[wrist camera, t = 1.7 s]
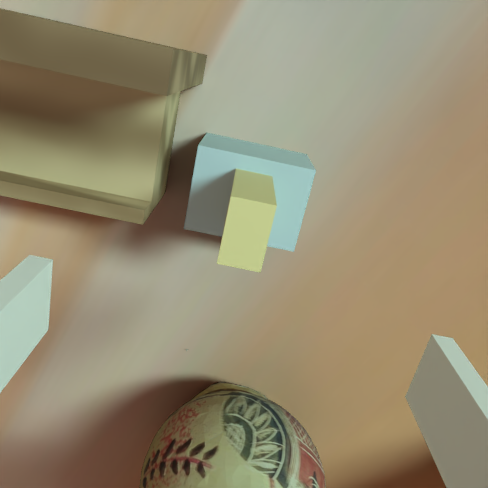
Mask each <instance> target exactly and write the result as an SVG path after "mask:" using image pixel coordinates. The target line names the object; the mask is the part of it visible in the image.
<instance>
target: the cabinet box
mask: <svg viewBox="0 0 488 488" xmlns="http://www.w3.org/2000/svg"><path fill="white" fill-rule="evenodd" d="M315 172H316V170H315V168H314V166H313V165H312V163H311V161H310V159H309V158H308V156H307V154H303V153H298V152H294V151H289V150H284V149H280V148H275V147H271V146H266V145H262V144H257V143H252V142H248V141H243V140H239V139H234V138H229V137H225V136H220V135H216V134H211V133H206V135H205V136H204V138H203V139H202V140H201V142H200V143H199V145H198V149H197V155H196V161H195V167H194V172H193V178H192V184H191V190H190V195H189V201H188V207H187V213H186V218H185V224H184V229H187V230H191V231H196V232H201V233H206V234H211V235H216V236H221V237H222V240H221V245H220V250H219V255H218V261H217V264H221V265H226V266H231V267H236V268H241V269H246V270H251V271H256V272H261V268H262V264H263V260H264V256H265V252H266V248H267V246H269V247H274V248H279V249H284V250H289V251H293V252H294V249H295V246H296V242H297V238H298V234H299V231H300V227H301V223H302V220H303V216H304V212H305V209H306V205H307V201H308V198H309V194H310V190H311V187H312V183H313V179H314V176H315Z"/></svg>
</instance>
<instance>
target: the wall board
mask: <svg viewBox="0 0 488 488" xmlns="http://www.w3.org/2000/svg"><path fill="white" fill-rule="evenodd" d="M206 58H207V55H204V54H199V53H195V52H191V51H186V50H182V49H177V48H173V47H169V46H164V45H160V44H155V43H151V42H147V41H142V40H138V39H133V38H129V37H124V36H120V35H116V34H111V33H107V32H102V31H98V30H94V29H89V28H85V27H80V26H76V25H72V24H67V23H63V22H58V21H54V20H50V19H45V18H41V17H36V16H32V15H28V14H23V13H19V12H14V11H10V10H5V9H1V8H0V196H5V197H10V198H15V199H20V200H25V201H30V202H35V203H39V204H44V205H49V206H54V207H59V208H64V209H69V210H74V211H78V212H83V213H88V214H93V215H98V216H103V217H108V218H113V219H117V220H122V221H127V222H132V223H137V224H142V225H143V224H144V222H145V221H146V220H147V218H148V217H149V215H150V214H151V212H152V211H153V210H154V208H155V207H156V205H157V204H158V202H159V201H160V200H161V198H162V197H163V195H164V194H165V189H166V183H167V176H168V170H169V163H170V157H171V150H172V144H173V137H174V131H175V124H176V118H177V111H178V105H179V98H180V92H181V91H182V90H185V89H188V88H191V87H193V86H196V85H199V84H202V81H203V75H204V70H205V64H206Z"/></svg>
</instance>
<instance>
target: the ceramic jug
mask: <svg viewBox="0 0 488 488" xmlns="http://www.w3.org/2000/svg"><path fill="white" fill-rule="evenodd" d="M186 351H187V350H186ZM139 488H326V485H325V474H324V470H323V467H322V463H321V461H320V457H319V454H318V452H317V449H316V447H315V446H314V444H313V442H312V440H311V438H310V436H309V435H308V434H307V432H306V430H305V429H304V428H303V426H302V425H301V424H300V423H299V422H298V421H297V420H296V419H295V418H294V417H293V416H292V415H291V414H290V413H288V412H287V411H286V410H285V409H283V408H282V407H281V406H279V405H278V404H276V403H274V402H273V401H271V400H268V399H267V398H266V397H265V396H264V395H262V394H260V393H259V392H257V391H255V390H253V389H250V388H248V387H244V386H239V385H235V384H230V383H216V384H212V385H211V386H209V387H208V388H207V389H205V390H204V391H202V392H201V393H199V394H198V395H196V396H195V397H194V398H193V399H192V400H191V401H189V402H187V403H186V404H184V405H183V406H182V407H180V408H179V409H178V410H177V411H175V412H174V413H173V414H171V415H170V417H169V418H168V419H167V420H166V422H165V423H164V424H163V425H162V427H161V428H160V429H159V430H158V432H157V434H156V435H155V437H154V439H153V441H152V443H151V446H150V448H149V451H148V453H147V455H146V458H145V461H144V464H143V467H142V471H141V479H140V487H139Z"/></svg>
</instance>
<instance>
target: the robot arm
mask: <svg viewBox="0 0 488 488" xmlns="http://www.w3.org/2000/svg"><path fill="white" fill-rule="evenodd" d="M52 265H53V259H48V258H43V257H37V256H32V255H29V256H28V257H27V258H25V259H24V260H23V261H22V262H21V263H20V264H19V265H17V266H16V267H15V268H14V269H13V270H12V271H10V272H9V273H8V274H7V275H6V276H5V277H4V278H2V279H1V280H0V393H1V391H2V390H3V389H4V387H5V386H6V385H7V383H8V382H9V381H10V379H11V378H12V377H13V375H14V374H15V373H16V372H17V370H18V369H19V368H20V366H21V365H22V364H23V362H24V361H25V360H26V358H27V357H28V356H29V354H30V353H31V352H32V351H33V349H34V348H35V347H36V345H37V344H38V343H39V341H40V340H41V339H42V337H43V336H44V335H45V333H46V332H47V331H48V327H49V312H50V296H51V281H52ZM405 397H406V400H407V402H408V404H409V406H410V408H411V411H412V413H413V415H414V417H415V419H416V422H417V424H418V426H419V428H420V430H421V433H422V435H423V437H424V439H425V441H426V444H427V446H428V448H429V450H430V452H431V455H432V457H433V459H434V461H435V464H436V466H437V468H438V470H439V472H440V475H441V477H442V479H443V481H444V483H445V486H446V488H488V387H487V385H486V384H485V382H484V381H483V380H482V378H481V377H480V376H479V374H478V373H477V371H476V370H475V369H474V367H473V366H472V364H471V363H470V362H469V360H468V359H467V357H466V356H465V355H464V353H463V352H462V351H461V349H460V348H459V346H458V345H457V344H456V342H455V341H454V339H453V338H449V337H443V336H438V335H433V334H432V335H431V337H430V340H429V342H428V344H427V347H426V349H425V351H424V354H423V356H422V358H421V361H420V363H419V366H418V368H417V370H416V373H415V375H414V377H413V380H412V382H411V384H410V387H409V389H408V392H407V394H406V396H405Z"/></svg>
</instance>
